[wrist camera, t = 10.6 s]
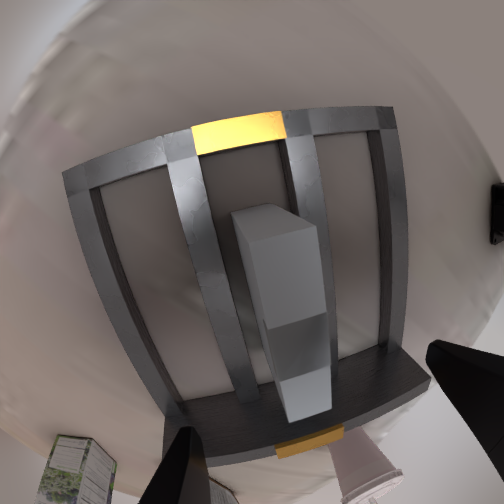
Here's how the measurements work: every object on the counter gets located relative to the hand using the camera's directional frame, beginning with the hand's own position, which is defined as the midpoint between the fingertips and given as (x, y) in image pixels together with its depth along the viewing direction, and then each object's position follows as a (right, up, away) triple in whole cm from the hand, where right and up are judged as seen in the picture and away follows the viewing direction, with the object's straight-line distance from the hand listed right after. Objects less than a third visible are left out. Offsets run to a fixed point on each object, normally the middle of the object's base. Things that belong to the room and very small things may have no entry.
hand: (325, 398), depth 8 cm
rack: (-1, +3, +9) cm, 10 cm away
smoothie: (+7, -15, +16) cm, 23 cm away
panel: (-1, +3, +9) cm, 10 cm away
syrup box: (-21, -18, +12) cm, 30 cm away
